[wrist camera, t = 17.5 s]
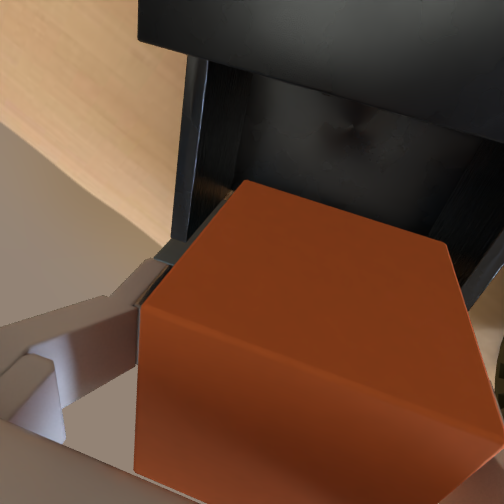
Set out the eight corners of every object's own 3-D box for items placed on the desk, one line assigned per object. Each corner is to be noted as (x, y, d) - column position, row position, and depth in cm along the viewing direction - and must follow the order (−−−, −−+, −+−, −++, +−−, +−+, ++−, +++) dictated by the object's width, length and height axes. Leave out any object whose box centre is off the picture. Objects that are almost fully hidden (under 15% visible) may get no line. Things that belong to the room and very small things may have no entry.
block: (365, 373, 11) (359, 571, 7) (214, 318, 12) (131, 472, 8) (447, 242, 9) (513, 445, 4) (244, 177, 9) (137, 305, 5)
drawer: (388, 335, 26) (392, 436, 20) (200, 268, 28) (147, 342, 21) (571, 39, 15) (708, 52, 9) (248, -40, 17) (173, -76, 11)
